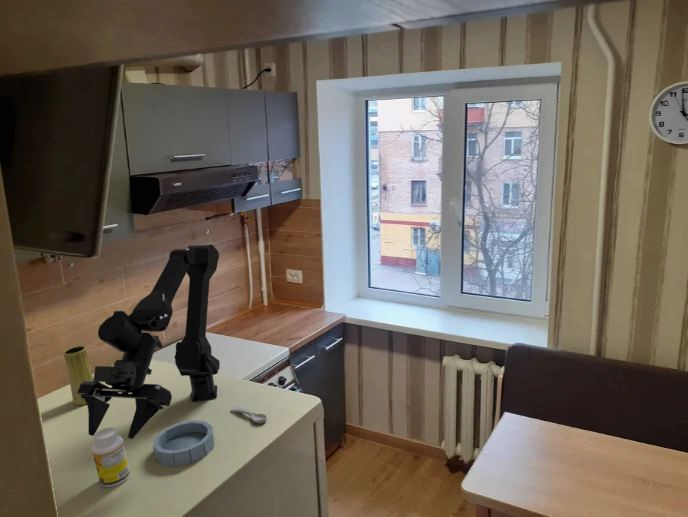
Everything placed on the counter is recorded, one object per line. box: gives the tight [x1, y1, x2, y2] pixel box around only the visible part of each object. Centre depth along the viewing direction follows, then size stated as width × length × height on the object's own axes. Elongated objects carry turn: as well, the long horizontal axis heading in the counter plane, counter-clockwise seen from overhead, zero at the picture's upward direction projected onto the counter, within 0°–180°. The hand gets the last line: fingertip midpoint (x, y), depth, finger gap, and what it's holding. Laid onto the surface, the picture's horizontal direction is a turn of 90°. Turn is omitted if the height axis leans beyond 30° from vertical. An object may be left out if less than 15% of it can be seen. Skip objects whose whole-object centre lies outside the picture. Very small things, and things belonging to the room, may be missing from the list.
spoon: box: [230, 406, 268, 425], centre depth 121 cm, size 3×12×2 cm, turn 49°
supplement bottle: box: [91, 427, 131, 488], centre depth 101 cm, size 6×6×10 cm
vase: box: [63, 345, 94, 406], centre depth 136 cm, size 6×6×14 cm
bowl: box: [152, 419, 216, 467], centre depth 110 cm, size 12×12×3 cm
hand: (110, 436), depth 102 cm, fingers open, 9 cm apart
